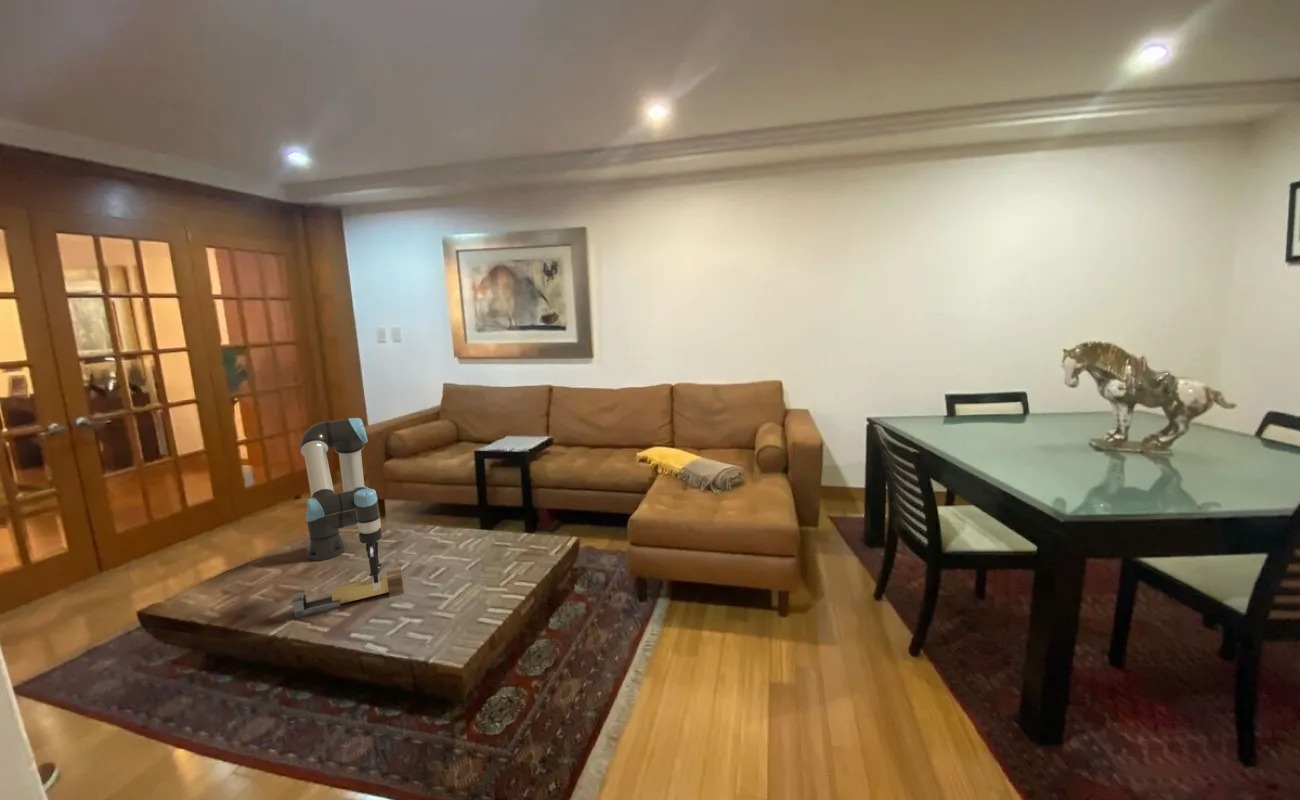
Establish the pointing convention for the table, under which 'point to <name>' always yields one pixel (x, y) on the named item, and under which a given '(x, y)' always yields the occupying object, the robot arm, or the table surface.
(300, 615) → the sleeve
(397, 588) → the socket
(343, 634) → the table surface
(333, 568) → the table surface
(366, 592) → the tan wooden bar
